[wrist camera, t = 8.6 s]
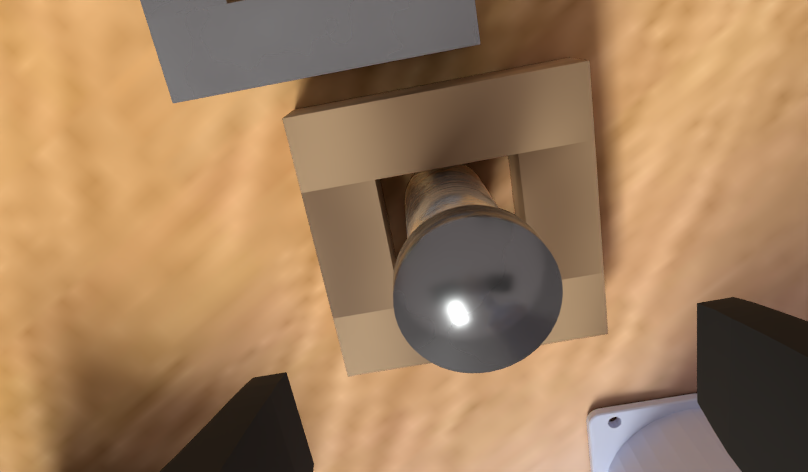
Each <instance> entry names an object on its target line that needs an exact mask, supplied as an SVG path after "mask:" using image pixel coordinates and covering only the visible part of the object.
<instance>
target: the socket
mask: <svg viewBox="0 0 808 472" xmlns="http://www.w3.org/2000/svg"><path fill="white" fill-rule="evenodd" d="M283 123H284V127H285V131H286V135H287V139H288V143H289V147H290V151H291V155H292V159H293V163H294V167H295V170H296V174H297V178H298V182H299V186H300V190H301V194H302V198H303V202H304V206H305V210H306V214H307V218H308V222H309V225H310V229H311V233H312V237H313V241H314V245H315V249H316V253H317V257H318V261H319V265H320V269H321V273H322V277H323V280H324V284H325V288H326V292H327V296H328V300H329V304H330V308H331V312H332V316H333V320H334V324H335V328H336V332H337V336H338V339H339V343H340V347H341V351H342V355H343V359H344V363H345V367H346V371H347V375H348V376H354V375H361V374H367V373H373V372H379V371H385V370H391V369H397V368H403V367H409V366H416V365H422V364H428V363H431V362H430V361H428V360H427V359H425V358H423V357H422V356H421V355H420V354H418V353H417V352H416V351H415V350H414V349H413V348H412V347H411V346H410V344H409V343H408V342H407V341H406V339H405V338H404V336H403V335H402V333H401V331H400V329H399V327H398V324H397V321H396V318H395V313H394V307H393V274H394V267H395V263H396V256H395V251H394V246H393V241H392V236H391V231H390V226H389V221H388V217H387V212H386V207H385V202H384V197H383V192H382V187H381V182H380V179H382V178H387V177H393V176H398V175H404V174H409V173H415V172H421V171H426V170H432V169H437V168H443V167H448V166H454V165H459V164H465V163H470V162H476V161H481V160H487V159H492V158H498V157H503V156H508V159H509V168H510V176H511V184H512V192H513V201H514V209H515V215H516V216H518V217H519V218H521V219H522V220H523V221H525V222H526V223H527V224H528V225H529V226H530V227H531V228H532V229H533V230H534V231H535V232H536V234H537V235H538V236H539V238H540V239H541V240H542V242H543V243H544V244H545V246H546V247H547V248H548V250H549V251H550V252H551V253H552V255H553V257H554V259H555V261H556V263H557V265H558V268H559V271H560V274H561V279H562V286H563V297H562V305H561V310H560V313H559V316H558V319H557V321H556V323H555V325H554V327H553V329H552V331H551V332H550V334H549V335H548V337H547V338H546V339H545V341H544V342H543V343H542V344H541V345H544V344H550V343H556V342H562V341H568V340H574V339H581V338H587V337H593V336H599V335H605V334H608V326H607V311H606V297H605V282H604V267H603V252H602V238H601V223H600V208H599V193H598V178H597V164H596V149H595V134H594V119H593V104H592V90H591V75H590V61H589V60H582V59H576V58H570V57H569V58H564V59H559V60H553V61H548V62H543V63H538V64H532V65H527V66H522V67H517V68H511V69H506V70H501V71H495V72H490V73H485V74H480V75H474V76H469V77H464V78H459V79H453V80H448V81H443V82H437V83H432V84H427V85H422V86H416V87H411V88H406V89H401V90H395V91H390V92H385V93H379V94H374V95H369V96H364V97H358V98H353V99H348V100H342V101H337V102H332V103H327V104H321V105H316V106H311V107H306V108H300V109H295V110H293V111H292V112H290V113H289V114H288V115H286V116H285V117H284V118H283Z"/></svg>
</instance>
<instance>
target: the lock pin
mask: <svg viewBox="0 0 808 472" xmlns="http://www.w3.org/2000/svg"><path fill="white" fill-rule="evenodd" d="M405 215H406V229H407V240H406V241H405V243H404V244H403V246H402V248H401V250H400V252H399V254H398V257H397V259H396V263H395V267H394V274H393V307H394V313H395V318H396V321H397V324H398V327H399V329H400V331H401V333H402V335H403V336H404V338H405V339H406V341H407V342H408V343H409V344H410V346H411V347H412V348H413V349H414V350H415V351H416V352H417V353H418V354H420V355H421V356H422V357H423V358H425V359H427V360H428V361H430V362H431V363H433V364H435V365H438V366H440V367H442V368H445V369H448V370H452V371H457V372H463V373H484V372H491V371H495V370H499V369H503V368H505V367H508V366H511V365H513V364H515V363H517V362H519V361H521V360H522V359H524V358H525V357H527V356H528V355H530V354H531V353H532V352H533V351H535V350H536V349H537V348H538V347H539V346H540V345H541V344H542V343H543V342H544V341H545V339H546V338H547V337H548V335H549V334H550V332H551V331H552V329H553V327H554V325H555V323H556V321H557V319H558V316H559V313H560V310H561V305H562V297H563V286H562V279H561V274H560V271H559V268H558V265H557V263H556V261H555V259H554V257H553V255H552V253H551V252H550V251H549V250H548V248H547V247H546V246H545V244H544V243H543V242H542V240H541V239H540V238H539V236H538V235H537V234H536V232H535V231H534V230H533V229H532V228H531V227H530V226H529V225H528V224H527V223H526V222H525V221H523V220H522V219H521V218H519V217H518V216H516V215H514V214H512V213H510V212H508V211H505V210H503V209H500V208H499V207H498V206H497V204H496V203H495V201H494V200H493V198H492V197H491V195H490V194H489V192H488V190H487V189H486V187H485V186H484V184H483V183H482V181H481V180H480V178H479V177H478V175H477V174H476V173H475V172H474V171H473V170H472V169H471V168H469V167H468V166H466V165H464V164H459V165H454V166H448V167H443V168H437V169H432V170H426V171H421V172H416V173H415V175H414V176H413V177H412V178H411V180H410V182H409V183H408V186H407V188H406V192H405Z"/></svg>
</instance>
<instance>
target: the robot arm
mask: <svg viewBox="0 0 808 472" xmlns="http://www.w3.org/2000/svg"><path fill="white" fill-rule="evenodd" d="M613 417H617V419H616V420H614V421H609V420H610V419H611V418H613ZM587 432H588V444H589V455H590V466H591V472H808V321H805V320H802V319H799V318H797V317H794V316H791V315H788V314H785V313H783V312H780V311H777V310H774V309H771V308H768V307H765V306H762V305H759V304H756V303H753V302H749V301H746V300H742V299H739V298H735V297H731V298H725V299H720V300H714V301H708V302H702V303H697V393H694V394H687V395H681V396H675V397H668V398H662V399H655V400H649V401H643V402H636V403H630V404H624V405H617V406H611V407H604V408H598V409H595V410H593V411H591V412H590V413H589V414H588V416H587ZM313 467H314V463H313V459H312V456H311V453H310V449H309V446H308V443H307V439H306V436H305V433H304V429H303V426H302V423H301V419H300V416H299V413H298V410H297V406H296V403H295V400H294V396H293V393H292V390H291V386H290V383H289V380H288V376H287V373H286V372H285V373H279V374H273V375H267V376H261V377H255V378H252V379H251V380H250V381H249V382H248V383H247V384H246V385H245V386H244V387H243V388H242V389H241V390H240V391H239V392H238V393H237V394H236V395H235V396H234V397H233V398H232V399H231V400H230V401H229V402H228V403H227V404H226V405H225V406H224V407H223V408H222V409H221V410H220V411H219V412H218V413H217V414H216V415H215V416H214V417H213V419H212V420H211V421H210V422H209V423H208V424H207V425H206V426H205V427H204V428H203V429H202V430H201V431H200V432H199V433H198V434H197V435H196V436H195V437H194V438H193V439H192V440H191V441H190V442H189V443H188V444H187V445H186V446H185V447H184V448H183V449H182V450H181V451H180V452H179V453H178V454H177V455H176V456H175V457H174V458H173V459H172V460H171V461H170V462H169V463H168V464H167V465H166V466H165V467H164V468H163V469H162V470H161V471H160V472H313Z"/></svg>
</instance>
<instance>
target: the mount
mask: <svg viewBox="0 0 808 472" xmlns="http://www.w3.org/2000/svg"><path fill="white" fill-rule="evenodd" d="M140 1H141V4H142V7H143V10H144V14H145V17H146V20H147V23H148V26H149V29H150V33H151V36H152V39H153V42H154V45H155V48H156V51H157V55H158V58H159V61H160V64H161V67H162V70H163V74H164V77H165V80H166V83H167V86H168V89H169V92H170V96H171V99H172V102H173V103H178V102H183V101H188V100H193V99H198V98H204V97H209V96H214V95H219V94H224V93H230V92H235V91H240V90H245V89H250V88H256V87H261V86H266V85H271V84H276V83H282V82H287V81H292V80H297V79H302V78H308V77H313V76H318V75H323V74H328V73H334V72H339V71H344V70H349V69H354V68H359V67H365V66H370V65H375V64H380V63H385V62H391V61H396V60H401V59H406V58H411V57H417V56H422V55H427V54H432V53H437V52H443V51H448V50H453V49H458V48H463V47H469V46H474V45H479V44H480V37H479V29H478V21H477V13H476V6H475V0H140Z"/></svg>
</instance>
